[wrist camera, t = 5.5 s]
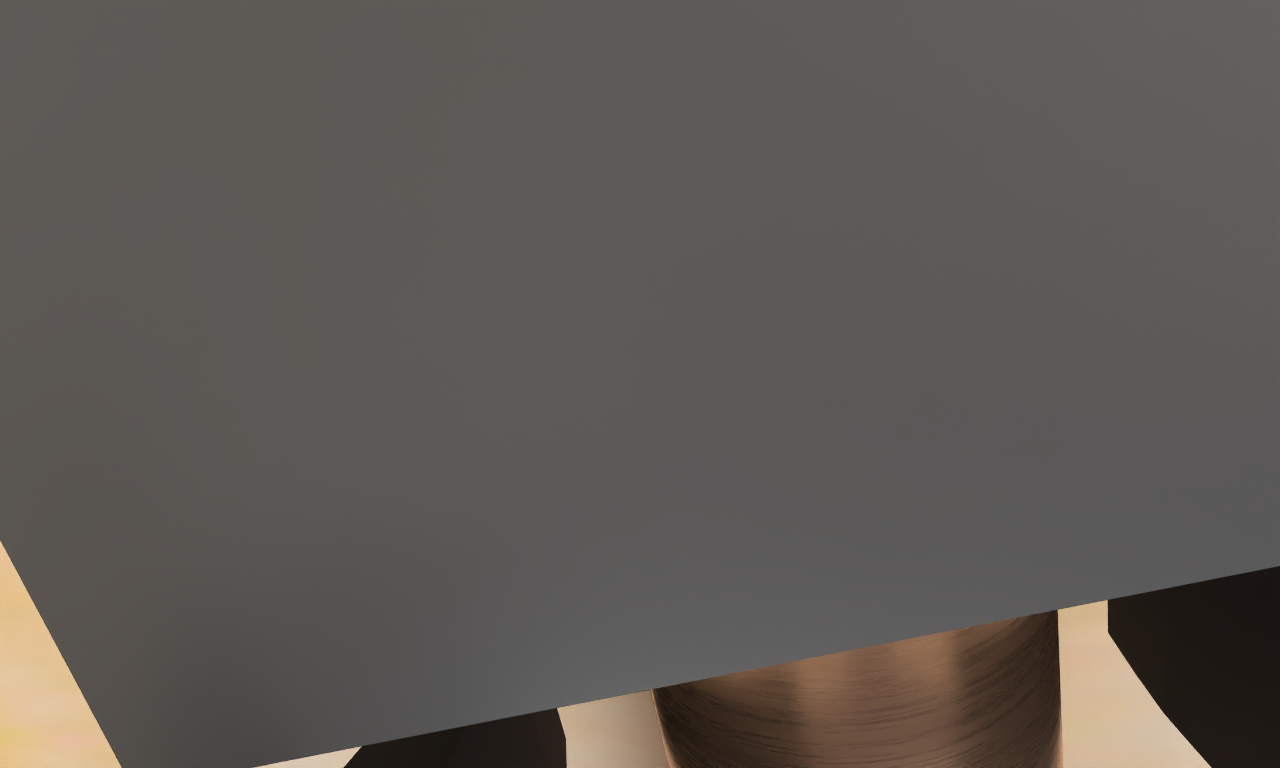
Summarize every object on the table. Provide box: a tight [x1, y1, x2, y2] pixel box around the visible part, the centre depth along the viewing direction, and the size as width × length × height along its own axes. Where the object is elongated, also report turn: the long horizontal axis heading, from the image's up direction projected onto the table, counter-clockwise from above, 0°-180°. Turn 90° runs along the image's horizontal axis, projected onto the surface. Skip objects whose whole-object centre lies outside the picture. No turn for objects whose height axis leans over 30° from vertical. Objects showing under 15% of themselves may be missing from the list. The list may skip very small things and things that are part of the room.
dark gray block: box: [0, 0, 1280, 768], centre depth 6 cm, size 9×5×6 cm, turn 101°
